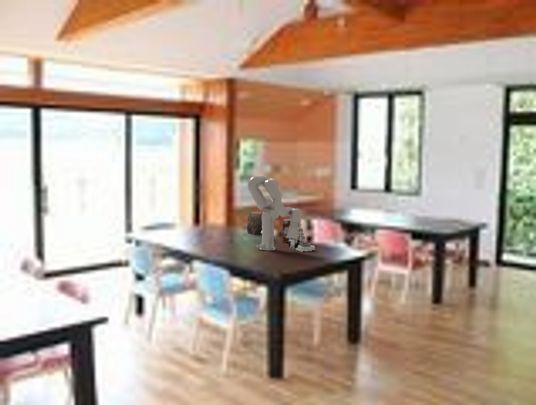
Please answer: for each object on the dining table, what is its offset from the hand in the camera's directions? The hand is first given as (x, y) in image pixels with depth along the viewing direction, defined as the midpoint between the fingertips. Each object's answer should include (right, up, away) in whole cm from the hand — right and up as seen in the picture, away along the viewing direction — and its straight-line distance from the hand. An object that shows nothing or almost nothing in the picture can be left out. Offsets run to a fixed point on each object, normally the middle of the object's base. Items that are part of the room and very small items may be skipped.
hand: (293, 247), depth 440 cm
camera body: (+10, -3, +12) cm, 16 cm away
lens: (0, -2, 0) cm, 3 cm away
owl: (-33, +5, +86) cm, 92 cm away
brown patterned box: (+2, 0, +46) cm, 46 cm away
